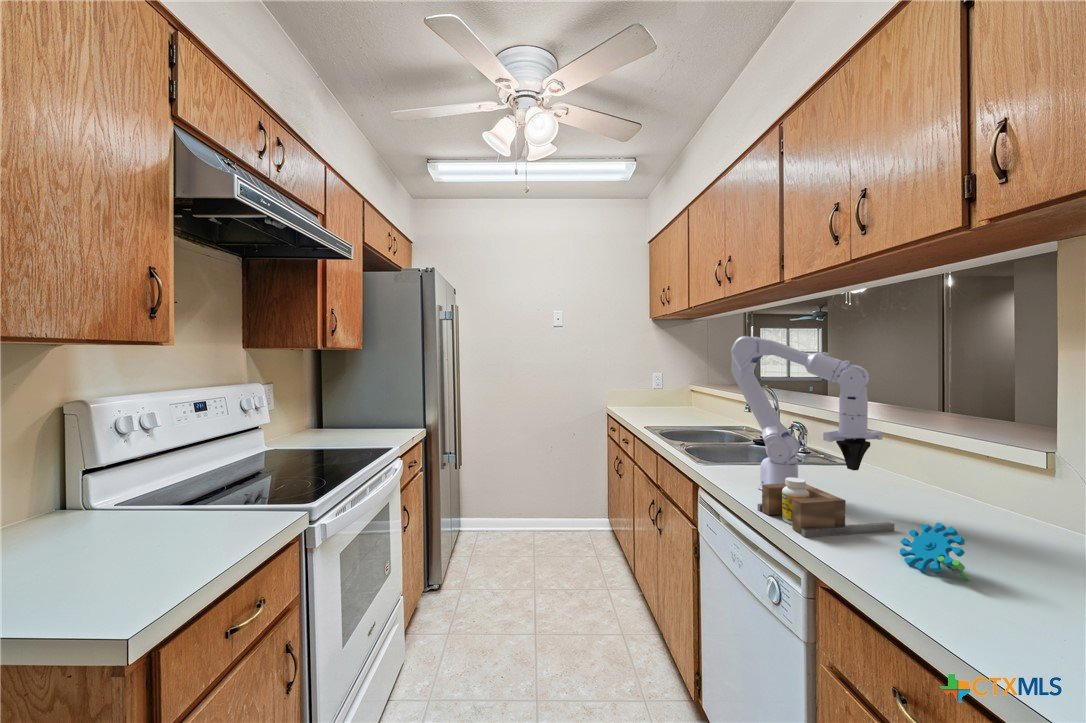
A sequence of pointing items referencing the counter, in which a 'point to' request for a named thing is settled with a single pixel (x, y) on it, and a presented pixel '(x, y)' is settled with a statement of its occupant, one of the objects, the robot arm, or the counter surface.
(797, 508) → the housing
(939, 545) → the gear
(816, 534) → the guide rails
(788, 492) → the supplement bottle
